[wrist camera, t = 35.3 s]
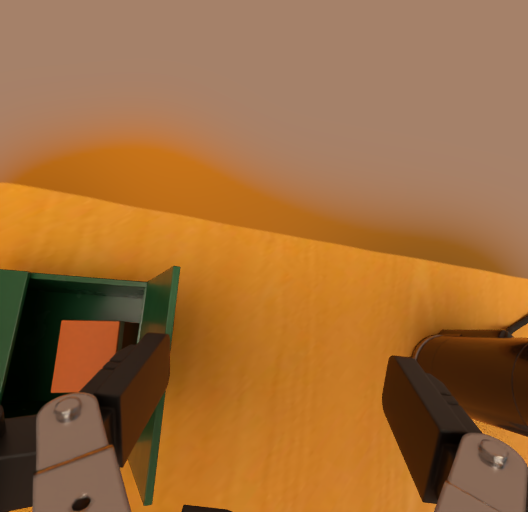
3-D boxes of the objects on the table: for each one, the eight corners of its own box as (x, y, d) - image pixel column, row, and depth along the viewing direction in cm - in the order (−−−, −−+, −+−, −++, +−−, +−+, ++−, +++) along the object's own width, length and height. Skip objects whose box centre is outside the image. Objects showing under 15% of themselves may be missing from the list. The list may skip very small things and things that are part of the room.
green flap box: (164, 296, 38) (149, 280, 25) (150, 406, 35) (126, 449, 23) (2, 284, 35) (-108, 259, 22) (-27, 403, 32) (-172, 452, 19)
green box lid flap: (147, 281, 25) (152, 282, 26) (123, 448, 23) (129, 447, 23) (173, 265, 18) (180, 266, 18) (143, 506, 16) (152, 504, 16)
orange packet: (139, 322, 36) (119, 320, 27) (134, 375, 35) (111, 392, 26) (97, 322, 36) (61, 319, 26) (90, 375, 34) (49, 393, 25)
